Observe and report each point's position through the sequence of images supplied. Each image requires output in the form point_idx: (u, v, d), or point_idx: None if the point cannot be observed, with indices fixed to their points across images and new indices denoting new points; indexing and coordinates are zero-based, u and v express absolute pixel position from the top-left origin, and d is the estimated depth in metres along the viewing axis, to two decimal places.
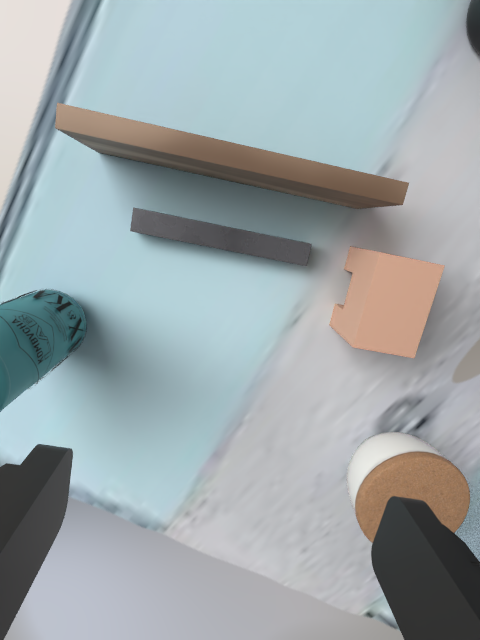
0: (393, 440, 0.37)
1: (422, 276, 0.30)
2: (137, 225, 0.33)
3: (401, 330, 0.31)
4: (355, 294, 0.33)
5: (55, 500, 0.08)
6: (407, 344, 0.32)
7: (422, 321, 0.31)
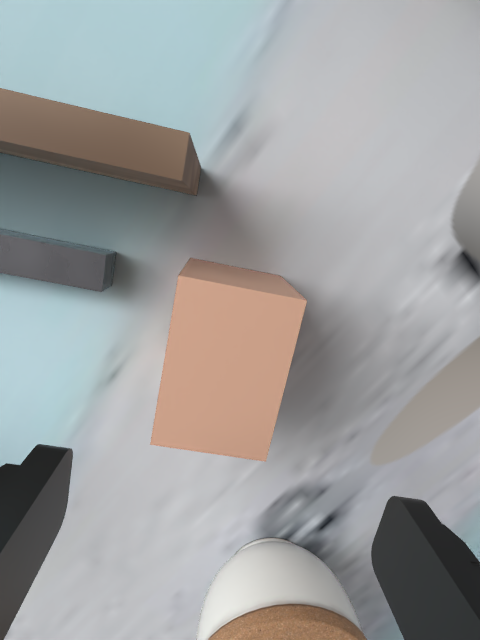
0: (262, 571, 0.23)
1: (265, 319, 0.16)
2: None
3: (237, 414, 0.17)
4: None
5: (55, 500, 0.08)
6: (251, 438, 0.18)
7: (274, 399, 0.17)
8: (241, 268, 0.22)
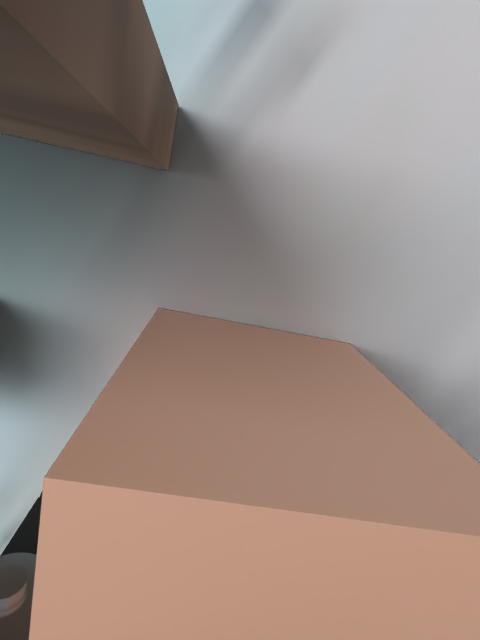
0: None
1: (403, 615, 0.04)
2: None
3: None
4: None
5: None
6: None
7: None
8: (269, 330, 0.10)
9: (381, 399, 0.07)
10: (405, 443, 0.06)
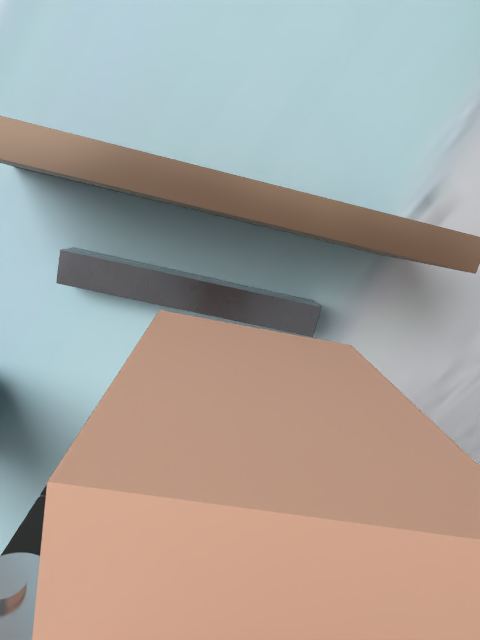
0: None
1: (404, 619, 0.04)
2: (67, 274, 0.22)
3: None
4: None
5: None
6: None
7: None
8: (270, 332, 0.10)
9: (382, 401, 0.07)
10: (406, 446, 0.06)
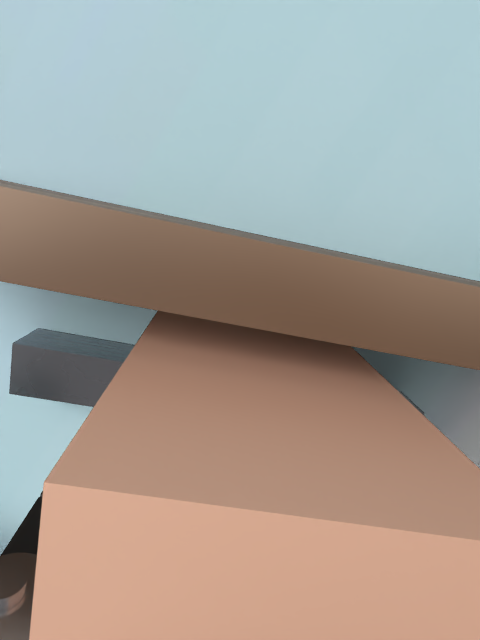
0: None
1: (401, 619, 0.04)
2: (26, 380, 0.14)
3: None
4: None
5: None
6: None
7: None
8: (268, 332, 0.10)
9: (380, 402, 0.07)
10: (404, 446, 0.06)
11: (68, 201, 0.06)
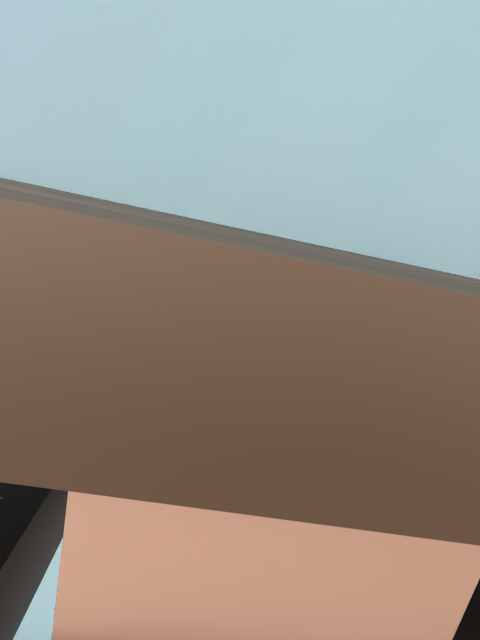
0: None
1: (376, 556, 0.05)
2: None
3: None
4: None
5: (64, 497, 0.08)
6: None
7: None
8: None
9: None
10: None
11: None
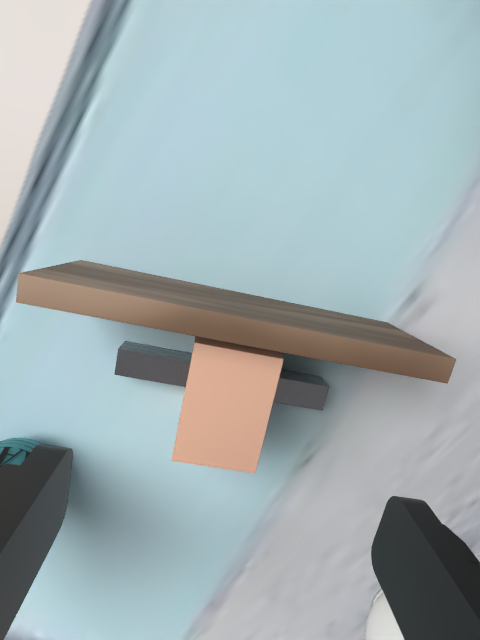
0: None
1: (254, 372, 0.23)
2: (123, 367, 0.28)
3: (234, 439, 0.24)
4: None
5: (55, 500, 0.08)
6: (244, 456, 0.24)
7: (261, 428, 0.24)
8: None
9: None
10: None
11: (177, 304, 0.20)
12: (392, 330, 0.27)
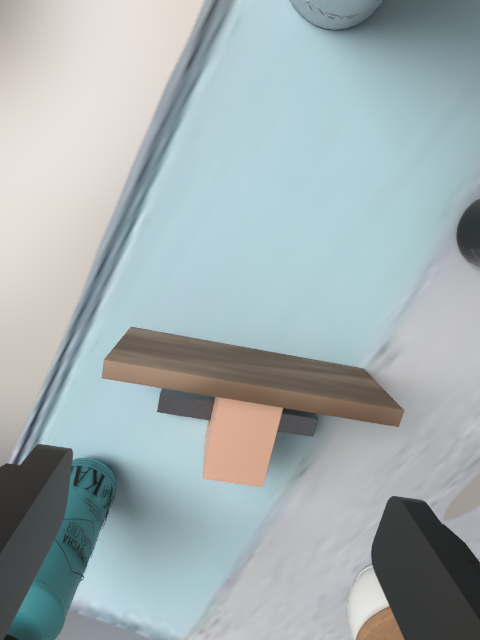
0: None
1: (262, 417, 0.32)
2: (164, 407, 0.37)
3: (248, 463, 0.34)
4: (211, 422, 0.35)
5: (55, 500, 0.08)
6: (255, 475, 0.34)
7: (267, 455, 0.33)
8: None
9: None
10: None
11: (210, 377, 0.29)
12: (364, 380, 0.36)
